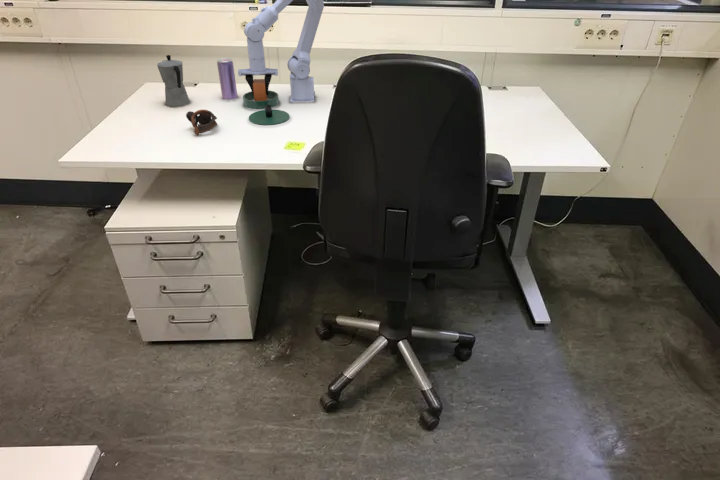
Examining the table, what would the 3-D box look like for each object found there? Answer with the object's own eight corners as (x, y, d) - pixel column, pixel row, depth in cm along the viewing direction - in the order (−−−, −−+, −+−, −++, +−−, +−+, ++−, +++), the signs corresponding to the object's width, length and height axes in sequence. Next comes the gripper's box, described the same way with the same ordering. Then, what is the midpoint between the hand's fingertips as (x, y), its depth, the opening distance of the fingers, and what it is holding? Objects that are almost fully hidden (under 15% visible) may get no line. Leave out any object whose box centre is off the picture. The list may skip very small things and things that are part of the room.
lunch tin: (279, 98, 199) (278, 89, 197) (278, 110, 188) (277, 101, 186) (245, 99, 198) (244, 90, 196) (242, 111, 187) (241, 101, 185)
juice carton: (267, 100, 196) (265, 78, 191) (266, 105, 191) (264, 83, 186) (256, 100, 195) (253, 79, 190) (255, 105, 191) (252, 83, 186)
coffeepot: (160, 100, 196) (149, 53, 186) (183, 96, 201) (174, 49, 191) (173, 111, 186) (163, 62, 176) (197, 107, 191) (189, 58, 180)
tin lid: (290, 111, 187) (289, 99, 184) (289, 126, 175) (288, 112, 172) (251, 112, 186) (249, 99, 183) (247, 127, 174) (245, 113, 171)
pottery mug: (225, 127, 175) (221, 112, 168) (211, 147, 171) (207, 132, 164) (194, 115, 176) (189, 99, 169) (180, 134, 172) (174, 119, 165)
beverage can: (235, 101, 196) (230, 61, 188) (220, 100, 197) (214, 61, 188) (239, 96, 201) (234, 57, 193) (224, 95, 201) (218, 57, 193)
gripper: (235, 61, 180) (240, 98, 187) (275, 60, 181) (279, 97, 188) (237, 55, 185) (242, 92, 193) (276, 55, 186) (279, 91, 194)
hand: (260, 94), depth 191 cm, fingers closed on juice carton, 4 cm apart
